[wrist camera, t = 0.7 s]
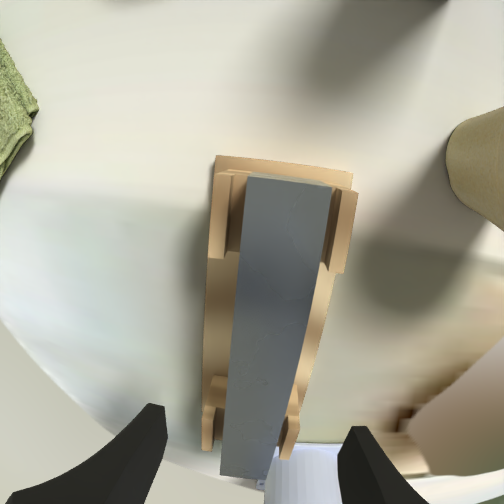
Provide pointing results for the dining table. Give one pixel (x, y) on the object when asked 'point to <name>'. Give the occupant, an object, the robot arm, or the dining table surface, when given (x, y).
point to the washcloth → (13, 110)
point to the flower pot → (479, 165)
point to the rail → (270, 313)
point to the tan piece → (225, 279)
